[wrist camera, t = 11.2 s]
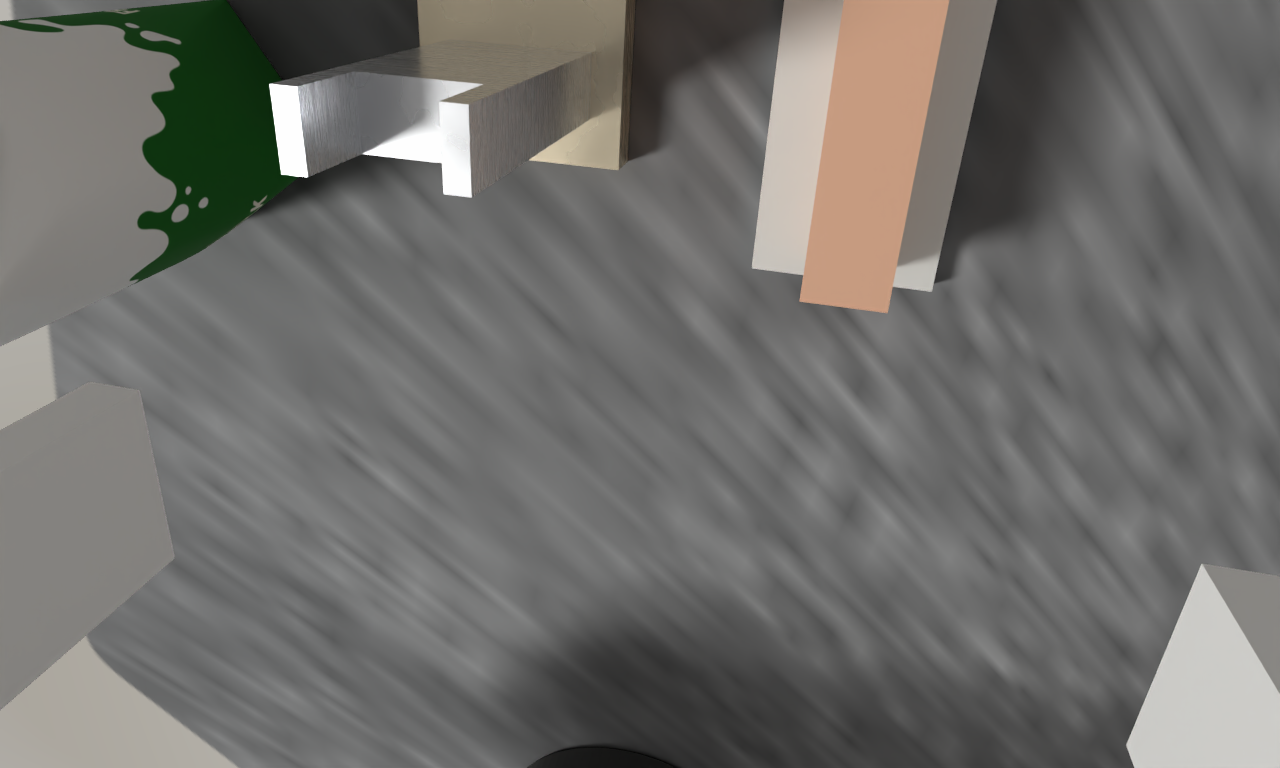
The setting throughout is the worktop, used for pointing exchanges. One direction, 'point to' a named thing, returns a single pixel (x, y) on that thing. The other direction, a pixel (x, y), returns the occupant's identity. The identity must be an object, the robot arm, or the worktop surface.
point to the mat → (802, 127)
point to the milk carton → (125, 150)
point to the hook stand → (474, 93)
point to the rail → (871, 149)
